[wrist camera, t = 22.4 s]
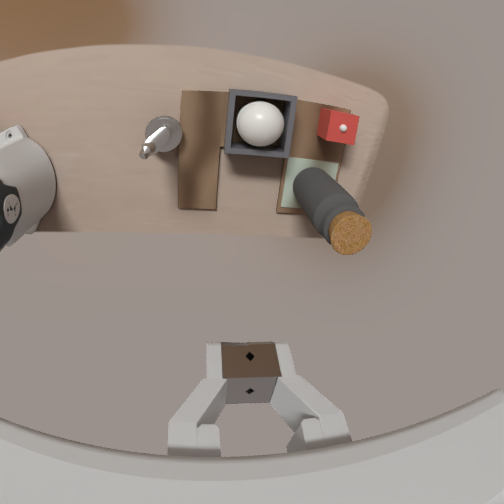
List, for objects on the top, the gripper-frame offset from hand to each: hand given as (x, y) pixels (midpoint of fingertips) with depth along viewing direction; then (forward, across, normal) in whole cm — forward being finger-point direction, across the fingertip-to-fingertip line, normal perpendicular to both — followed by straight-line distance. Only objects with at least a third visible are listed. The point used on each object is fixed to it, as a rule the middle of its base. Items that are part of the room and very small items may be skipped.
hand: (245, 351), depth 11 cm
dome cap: (+34, -4, -4) cm, 34 cm away
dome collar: (+33, -4, -4) cm, 33 cm away
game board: (+33, -6, 0) cm, 34 cm away
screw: (+33, +8, -2) cm, 34 cm away
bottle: (+33, -13, +4) cm, 35 cm away
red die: (+33, -14, -6) cm, 36 cm away
